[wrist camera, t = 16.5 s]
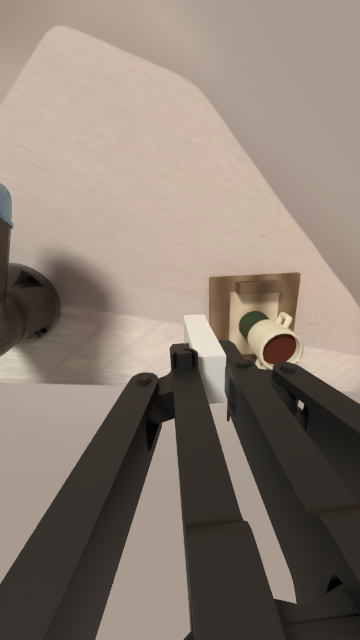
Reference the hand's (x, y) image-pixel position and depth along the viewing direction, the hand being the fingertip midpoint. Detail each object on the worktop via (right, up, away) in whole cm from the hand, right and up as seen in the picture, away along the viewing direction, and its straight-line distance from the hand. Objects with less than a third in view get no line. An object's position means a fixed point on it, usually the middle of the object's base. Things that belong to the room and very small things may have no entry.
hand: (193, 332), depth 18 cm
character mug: (+14, 0, +32) cm, 35 cm away
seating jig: (+14, 0, +33) cm, 36 cm away
